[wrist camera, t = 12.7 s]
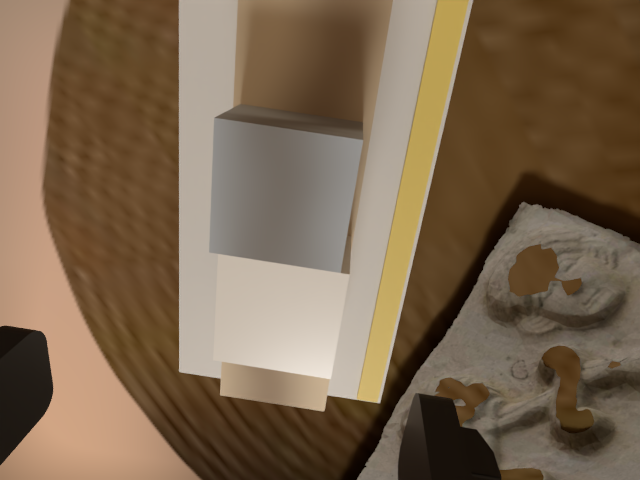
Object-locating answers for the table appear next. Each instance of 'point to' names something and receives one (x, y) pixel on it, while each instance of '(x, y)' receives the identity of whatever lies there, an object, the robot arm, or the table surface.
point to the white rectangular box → (377, 188)
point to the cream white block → (279, 314)
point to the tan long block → (310, 98)
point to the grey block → (283, 186)
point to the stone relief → (528, 348)
